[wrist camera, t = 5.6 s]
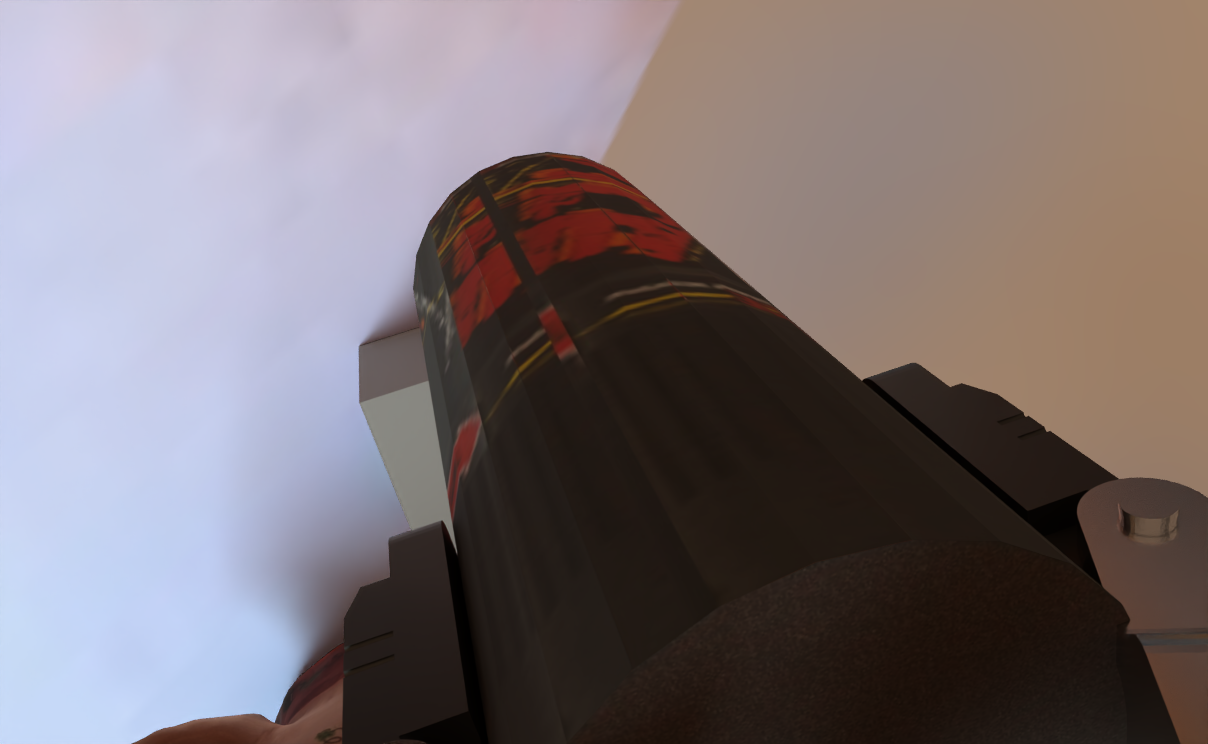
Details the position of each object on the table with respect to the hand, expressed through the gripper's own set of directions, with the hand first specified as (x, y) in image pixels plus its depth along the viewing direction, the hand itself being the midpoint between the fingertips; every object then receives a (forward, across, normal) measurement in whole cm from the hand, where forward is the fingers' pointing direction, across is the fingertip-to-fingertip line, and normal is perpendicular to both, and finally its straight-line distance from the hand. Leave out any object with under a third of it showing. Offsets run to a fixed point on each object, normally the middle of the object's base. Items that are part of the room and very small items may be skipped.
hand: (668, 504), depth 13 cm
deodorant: (+10, 0, 0) cm, 10 cm away
